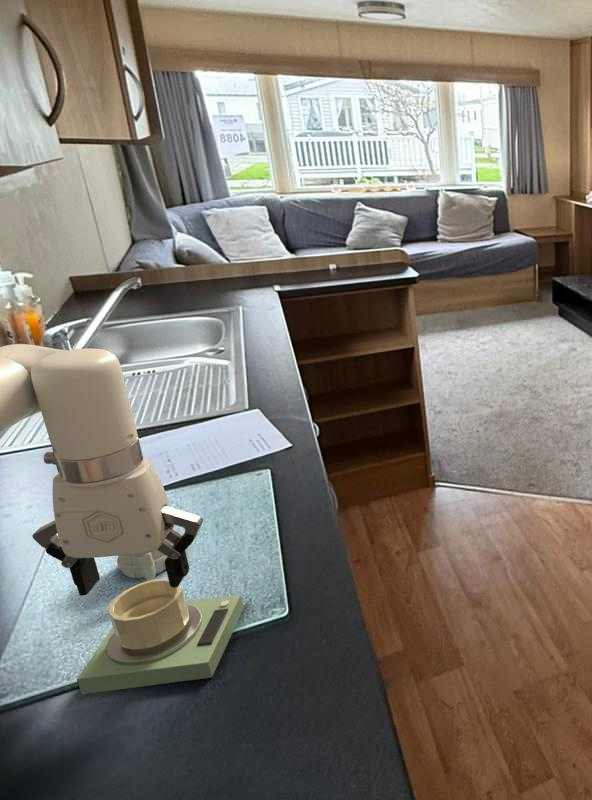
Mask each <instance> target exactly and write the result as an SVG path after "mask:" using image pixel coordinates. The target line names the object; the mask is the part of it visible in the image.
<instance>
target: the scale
mask: <svg viewBox="0 0 592 800" xmlns="http://www.w3.org/2000/svg"><path fill="white" fill-rule="evenodd" d="M185 601H186V603H187V604H191V605H193V606H195V607H197V608H198V609H199V610H200V612H201V616H202V624H201V627H200V629H199V631H198V632H197V634H196V635H195V636H194V637H193V638H192V639H191V640H190V641H189V642H188V643H187V644H186V645H184V646H183V647H182V648H180V649H179V650H177V651H176V652H174V653H172V654H170V655H168V656H166V657H164V658H161V659H159V660H156V661H153V662H150V663H145V664H140V665H121V664H117V663H115V662H113V661H112V660H111V659H110V658H109V656H108V653H107V649H106V647H107V643H108V640H109V639H110V637H111V635H112V634H113V633H114V632H115V631H114V628H113V627H112V628H111V629H110V631H109V632H108V633H107V634H106V636H105V638H104V640H103V641H101V643H100V645H99V646H98V648H97V649H96V651H95V652H94V654H93V655H92V657H90V659H89V660H88V662H87V663H86V664H85V667H84V668H83V669H82V670H81V672H80V673H79V675H78V676H77V678H76V681H77V685H78V687H79V689H80V693H81V694H82V695H89V694H96V693H102V692H111V691H119V690H127V689H133V688H134V689H135V688H141V687H142V688H143V687H148V686H149V687H150V686H156V685H157V686H158V685H164V684H170V683H171V684H172V683H180V682H187V681H195V680H203V679H210V678H211V679H212V678H213V676H214V674H215V672H216V670H217V667H218V666H219V663H220V661H221V659H222V657H223V655H224V652H225V650H226V648H227V646H228V644H229V642H230V639H231V637H232V635H233V633H234V631H235V628H236V626H237V624H238V622H239V620H240V619H241V616H242V614H243V612H244V610H245V607H244V604H243V603H244V602H243V599H242V596H241V594H234V595H226V596H218V597H217V596H215V597H208V598H206V597H205V598H197V599H189V600H188V599H187V600H185Z"/></svg>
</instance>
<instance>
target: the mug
mask: <svg viewBox="0 0 592 800" xmlns="http://www.w3.org/2000/svg"><path fill="white" fill-rule="evenodd" d="M164 540H165V541H167V542H168V543H170V544H171V545H174V544H172V543H171V542H169V541H168V540H166V539H164ZM166 558H167V556H166V555H164V554H163V553H161V552H160V551H158V550H155V551H153V552H149V553H143V554H132V555H120V556H117V558H116V563H117V568H118V569H119V570H120V571H122V573H123V575H124V576H126V577H129V578H132V579H143V578H145V579H146V581H150V580H153V579H156V575H157V574H159V573H163V572H164V571H165V570H166V567H165V560H166Z"/></svg>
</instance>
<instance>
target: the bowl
mask: <svg viewBox="0 0 592 800" xmlns="http://www.w3.org/2000/svg"><path fill="white" fill-rule="evenodd" d="M185 597H186V596H185V593H184V590H183V586H182V583H180V584H179V586H178V587H175V588H172V587H171V586H170V583H169V579H168V577H167V578H165V577H164V578H155V579H153V580H150V581H147V580H146V581H144V582H140V583H137V584H135V585H133V586H132V587H130V588H127V589H126V590H124V591H122V592H121V593H120V594H118V595H117V596H116V597H115V598H114V599H113V601H112V602H111V603H110V605H109V606H108V616H109V620H110V622H111V625H112V628H114V631H115V634H116V637H117V640H118V643H120V644H121V645H122V646H123V647H124V648H128V649H133V650H134V649H146V648H151V647H154V646H157V645H160V644H162V643H164V642H166V641H168V640H169V639H171V638H172V637H174V636H175V635H176V634H177V633H178V632H180V631H181V630H182V629H183V628H184V627H185V625H186V623H187V622H188V620H189V611H188V608H187V604H186V601H187V600H186V598H185Z"/></svg>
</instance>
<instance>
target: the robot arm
mask: <svg viewBox="0 0 592 800" xmlns="http://www.w3.org/2000/svg"><path fill="white" fill-rule="evenodd" d="M127 389H128V388H127V385H126V381H125V377H124V373H123V370H122V366H121V363H120V360H119V359H118V357H117V356H116V355H115V354H114V353H112V352H111V351H109V350H106V349H102V348H91V347H90V348H88V347H86V348H85V347H84V348H75V349H74V348H73V349H69V350H67V349H58V348H54V347H53V348H52V347H47V346H42V345H36V344H28V343H27V344H26V343H13V344H12V343H11V344H7V345H3V346H0V434H1V433H3V432H5V431H7V430H8V429H9V428H11V427H13V426H14V425H16V424H17V423H19V422H21V421H23V420H25V419H27V418H29V417H31V416H34V415H36V414H39V413H41V416H42V419H43V422H44V425H45V429H46V432H47V435H48V439H49V442H50V445H51V449H52V451H46V452H45V453H44V454H43V462H44V463H45V464H46V465H53V466H55V467H56V470H57V473H58V474H56V475H55V476H54V477H53V479H52V509H53V516H54V517H53V518H54V520H52V521H50V522H48V523H47V524H45V525H43V526H40V527H39V528H38V529H37V530H36V531H35V532H34V533H33V534H32V535H31V537H32V539H33V540H34V541H35V542H36V543H37V544H38V545H39V546H41V547H42V548H43V549H45V553H46V554H47V555H48V556H50V557H53V558H55V559H56V560H58V561H59V562H61V563H60V565H61V566H62V567H63V568H65V569H69V572H70V575H71V578H72V581H73V584H74V586H76V588H77V589H76V590H77V592H78V595H79V596H80V597H81V596H87V595H89V593H90V592H91V591H92V590H93V589H94V587H95V586H96V585H97V583H99V581H100V579H101V575H100V572H99V569H98V566H97V562H96V559H95V558H105V557H118V556H120V555H132V554H143V553H149V552H153V551H155V550H158V551H160V552H161V553H163V554H164V555H166V556H167V558H166V560H165V567H166V569H165V572H166V575H167V579H169V583H170V586H171V587H172V588H175V587H178V586H179V584H182V581H183V580H184V578H185V577H187V575H188V573H189V572H190V565H189V560H188V556H187V552H186V550H187V549H188V548H189V547H190V546H192V544H193V542H194V541H195V539H196V538H197V536H198V533H199V531H200V529H201V527H202V524H203V522H204V518H203V517H202V516H200V515H197V514H193V513H190V512H187V511H184V510H180V509H177V508H174V507H171V503H170V501H169V498H168V496H167V495H168V494H167V492H166V490H165V487H164V484H163V483H162V480H161V479H160V478H161V477H160V476H159V474H158V472H157V470H156V468H155V466H154V465H153V464H152V462H151V460H150V459H147V458H145V457H144V454H143V451H142V446H141V442H140V438H139V435H138V430H137V426H136V421H135V418H134V414H133V410H132V406H131V402H130V397H129V393H128V390H127ZM144 458H145V459H144ZM175 526H177V527H181V528H183V529H184V533H183V534H180V533H179V532H178V531H176V530H175V529H174V527H175ZM164 539H166V540H168V541H169V542H171V543H172V544H174V545H171V544H170V543H168V542H167V541H165V540H164Z"/></svg>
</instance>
